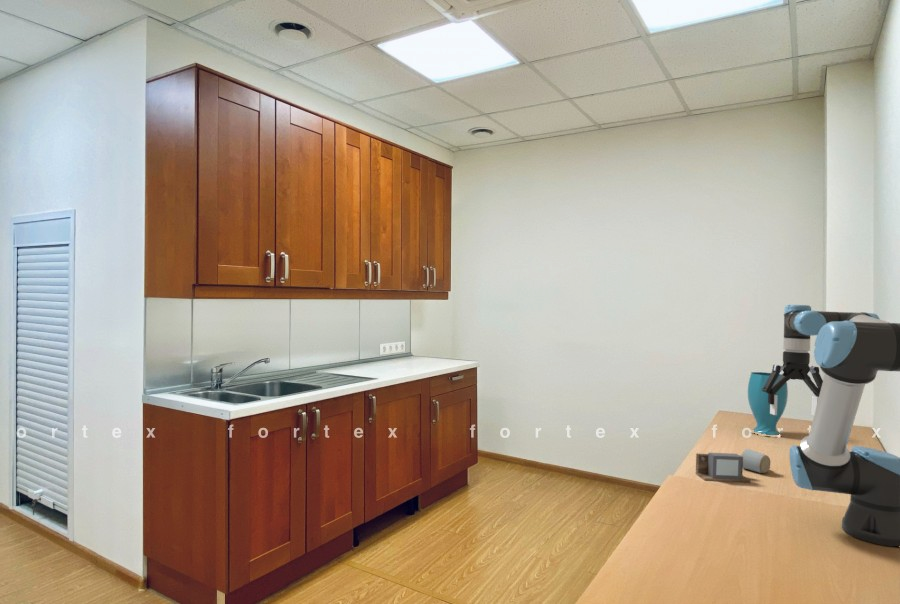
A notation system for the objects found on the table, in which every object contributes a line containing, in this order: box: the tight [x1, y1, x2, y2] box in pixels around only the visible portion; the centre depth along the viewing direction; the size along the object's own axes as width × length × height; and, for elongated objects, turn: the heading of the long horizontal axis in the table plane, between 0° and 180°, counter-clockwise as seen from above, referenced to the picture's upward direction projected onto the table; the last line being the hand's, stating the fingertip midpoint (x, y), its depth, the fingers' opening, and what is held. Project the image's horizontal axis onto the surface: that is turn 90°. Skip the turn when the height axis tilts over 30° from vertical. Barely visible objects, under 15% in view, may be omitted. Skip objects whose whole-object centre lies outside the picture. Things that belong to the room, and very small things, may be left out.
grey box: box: [707, 452, 742, 479], centre depth 194 cm, size 4×10×8 cm, turn 88°
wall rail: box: [695, 452, 751, 483], centre depth 196 cm, size 8×16×8 cm, turn 88°
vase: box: [747, 371, 789, 435], centre depth 270 cm, size 17×17×30 cm
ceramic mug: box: [740, 448, 771, 474], centre depth 207 cm, size 11×8×8 cm
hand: (794, 415), depth 179 cm, fingers open, 13 cm apart
